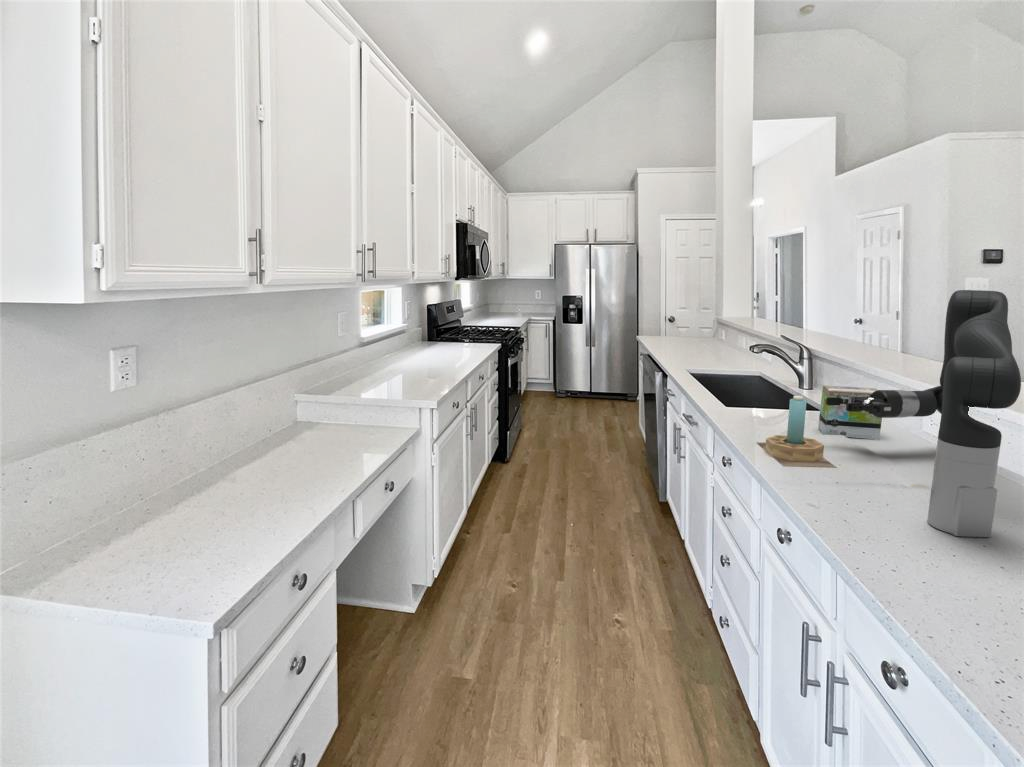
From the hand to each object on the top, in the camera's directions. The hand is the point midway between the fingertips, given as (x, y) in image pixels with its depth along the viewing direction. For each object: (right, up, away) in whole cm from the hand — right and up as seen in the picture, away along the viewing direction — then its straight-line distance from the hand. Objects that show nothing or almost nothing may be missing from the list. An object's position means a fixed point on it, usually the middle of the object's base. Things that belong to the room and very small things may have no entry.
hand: (836, 404), depth 150 cm
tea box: (+19, -11, +26) cm, 34 cm away
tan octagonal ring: (-11, -14, +2) cm, 17 cm away
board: (-11, -15, +2) cm, 18 cm away
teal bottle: (-11, -14, +2) cm, 17 cm away
